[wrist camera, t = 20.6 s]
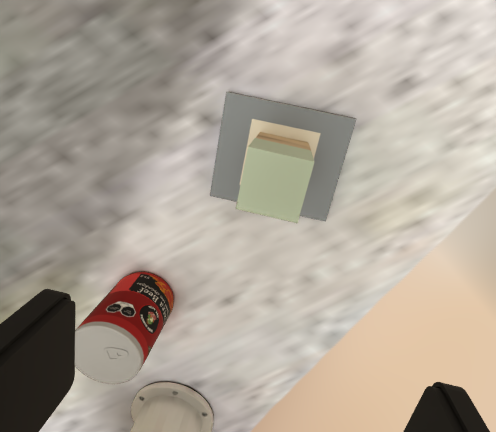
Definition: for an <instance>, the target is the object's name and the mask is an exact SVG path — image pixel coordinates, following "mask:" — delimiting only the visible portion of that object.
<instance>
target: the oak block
mask: <svg viewBox="0 0 496 432" xmlns="http://www.w3.org/2000/svg"><path fill="white" fill-rule="evenodd" d="M256 138H258V139H263V140H267V141H272V142H276V143H280V144H285V145H289V146H294V147H298V148H303V149H307V150H311V149H310V146H309V143H308V142H305V141H300V140H295V139H291V138H286V137H282V136H277V135H272V134H268V133H263V132H259V134H258V135H257V137H256Z"/></svg>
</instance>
